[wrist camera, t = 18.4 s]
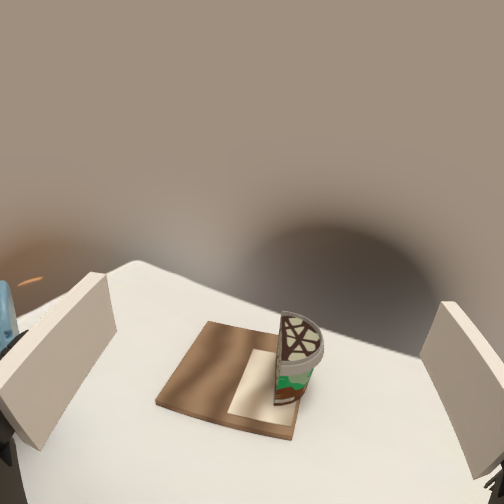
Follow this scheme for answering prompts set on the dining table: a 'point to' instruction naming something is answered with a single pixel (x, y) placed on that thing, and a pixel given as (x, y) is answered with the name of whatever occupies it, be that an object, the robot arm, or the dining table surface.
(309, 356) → the food container
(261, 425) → the board
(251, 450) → the dining table surface
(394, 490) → the dining table surface
